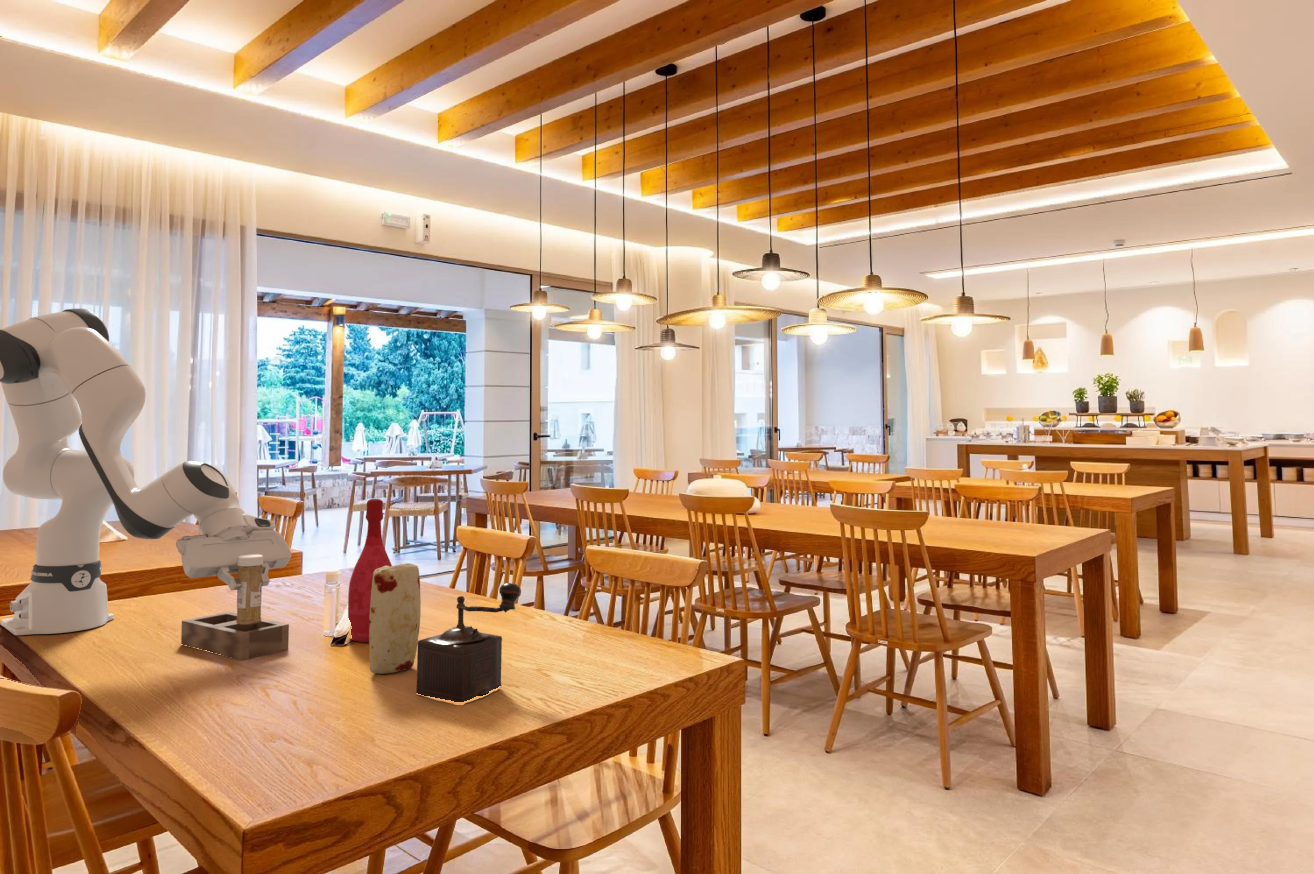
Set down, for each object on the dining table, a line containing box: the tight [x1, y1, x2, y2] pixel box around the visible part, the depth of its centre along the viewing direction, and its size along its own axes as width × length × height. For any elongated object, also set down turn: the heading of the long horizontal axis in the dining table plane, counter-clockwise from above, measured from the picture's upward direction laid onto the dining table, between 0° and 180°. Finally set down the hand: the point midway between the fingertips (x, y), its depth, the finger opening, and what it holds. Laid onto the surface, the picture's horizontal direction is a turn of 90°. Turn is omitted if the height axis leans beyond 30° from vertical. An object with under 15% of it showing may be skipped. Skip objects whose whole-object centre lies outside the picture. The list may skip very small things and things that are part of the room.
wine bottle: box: [347, 498, 393, 643], centre depth 167 cm, size 10×10×30 cm
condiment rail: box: [180, 611, 290, 661], centre depth 157 cm, size 20×10×5 cm, turn 61°
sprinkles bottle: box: [236, 554, 263, 625], centre depth 155 cm, size 5×5×14 cm
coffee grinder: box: [415, 582, 522, 702], centre depth 135 cm, size 16×11×18 cm
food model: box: [368, 562, 422, 675], centre depth 144 cm, size 10×7×20 cm
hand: (251, 586), depth 154 cm, fingers closed on sprinkles bottle, 4 cm apart
